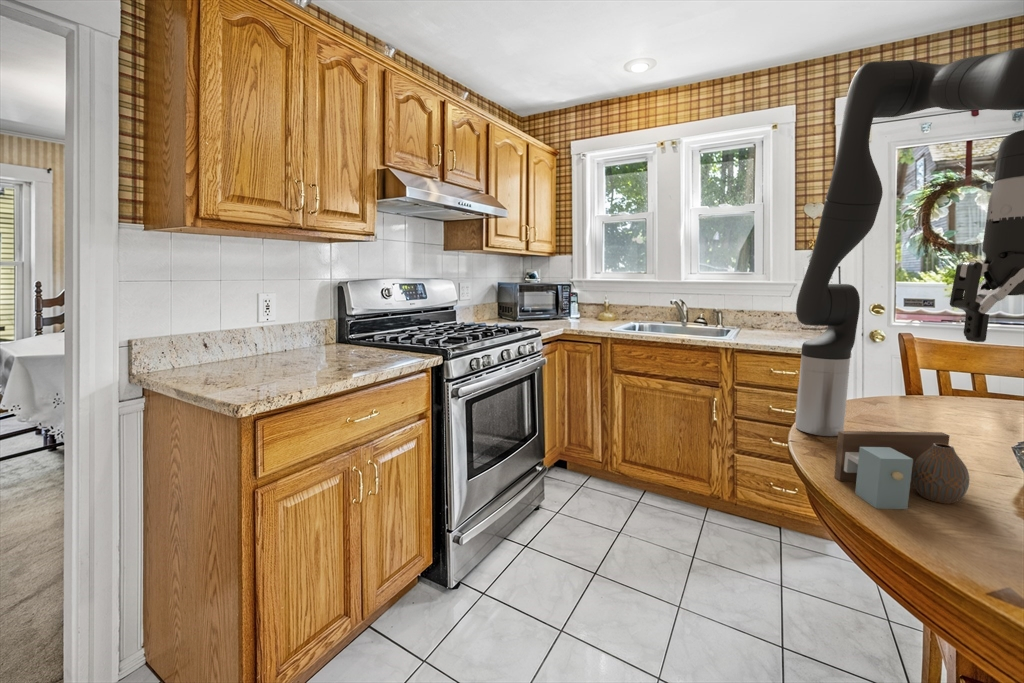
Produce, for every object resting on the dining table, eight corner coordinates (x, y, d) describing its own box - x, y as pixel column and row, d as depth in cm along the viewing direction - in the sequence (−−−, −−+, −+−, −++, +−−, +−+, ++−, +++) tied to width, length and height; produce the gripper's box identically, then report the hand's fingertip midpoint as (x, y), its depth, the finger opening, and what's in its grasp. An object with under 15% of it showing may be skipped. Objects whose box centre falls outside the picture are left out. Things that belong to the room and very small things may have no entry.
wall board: (834, 477, 85) (838, 430, 84) (936, 479, 84) (941, 432, 83) (839, 481, 83) (844, 433, 82) (943, 483, 82) (949, 435, 81)
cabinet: (842, 484, 82) (846, 439, 81) (870, 485, 82) (875, 440, 81) (879, 510, 73) (884, 460, 72) (911, 511, 73) (917, 461, 72)
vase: (909, 499, 76) (915, 447, 75) (908, 484, 82) (914, 435, 81) (968, 512, 72) (976, 457, 71) (963, 496, 78) (970, 443, 76)
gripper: (1056, 217, 65) (1037, 337, 67) (944, 219, 65) (929, 337, 68) (1122, 211, 57) (1099, 345, 60) (995, 213, 58) (977, 345, 60)
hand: (1009, 341), depth 64 cm, fingers open, 8 cm apart
